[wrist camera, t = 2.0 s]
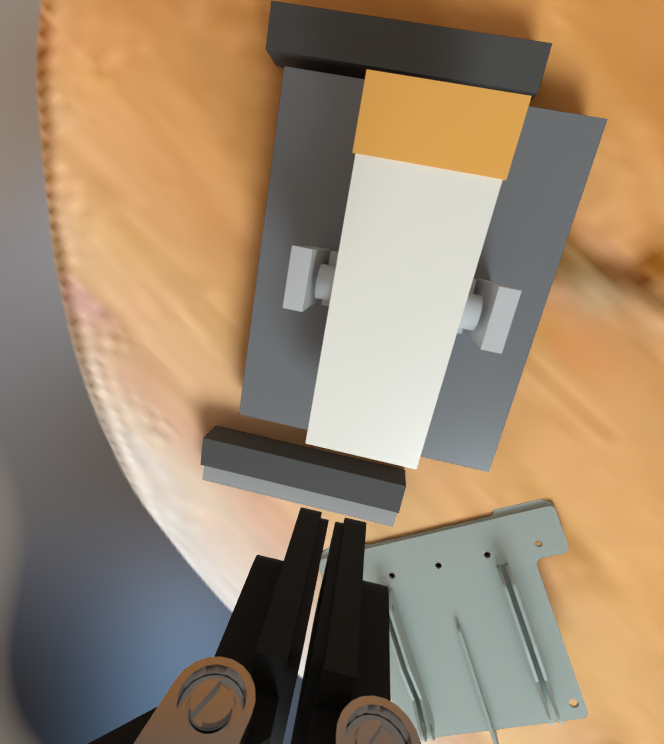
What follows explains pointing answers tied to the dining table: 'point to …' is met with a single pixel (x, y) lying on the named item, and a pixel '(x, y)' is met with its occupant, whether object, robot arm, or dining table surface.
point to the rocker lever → (407, 258)
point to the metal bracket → (476, 624)
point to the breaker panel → (500, 258)
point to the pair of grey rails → (352, 58)
